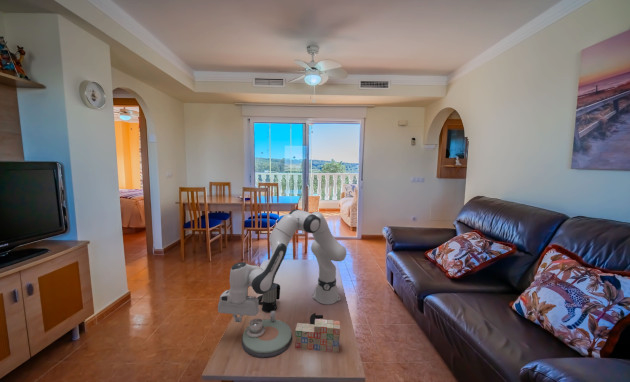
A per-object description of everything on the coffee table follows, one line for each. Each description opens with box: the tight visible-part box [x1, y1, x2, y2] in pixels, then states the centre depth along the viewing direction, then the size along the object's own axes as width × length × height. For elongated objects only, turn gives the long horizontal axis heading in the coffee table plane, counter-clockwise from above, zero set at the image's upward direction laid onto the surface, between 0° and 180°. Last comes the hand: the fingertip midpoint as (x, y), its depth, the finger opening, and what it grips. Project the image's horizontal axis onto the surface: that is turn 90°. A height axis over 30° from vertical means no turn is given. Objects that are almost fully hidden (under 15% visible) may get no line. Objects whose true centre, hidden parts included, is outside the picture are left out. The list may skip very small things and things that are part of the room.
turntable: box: [242, 310, 292, 353], centre depth 128 cm, size 24×24×6 cm
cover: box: [247, 318, 265, 338], centre depth 129 cm, size 9×9×6 cm
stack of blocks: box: [294, 318, 341, 353], centre depth 125 cm, size 21×6×12 cm, turn 85°
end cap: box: [309, 312, 324, 325], centre depth 137 cm, size 10×7×7 cm
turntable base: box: [241, 331, 293, 359], centre depth 129 cm, size 25×25×2 cm
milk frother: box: [256, 282, 281, 314], centre depth 159 cm, size 14×16×15 cm
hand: (238, 321), depth 129 cm, fingers closed
